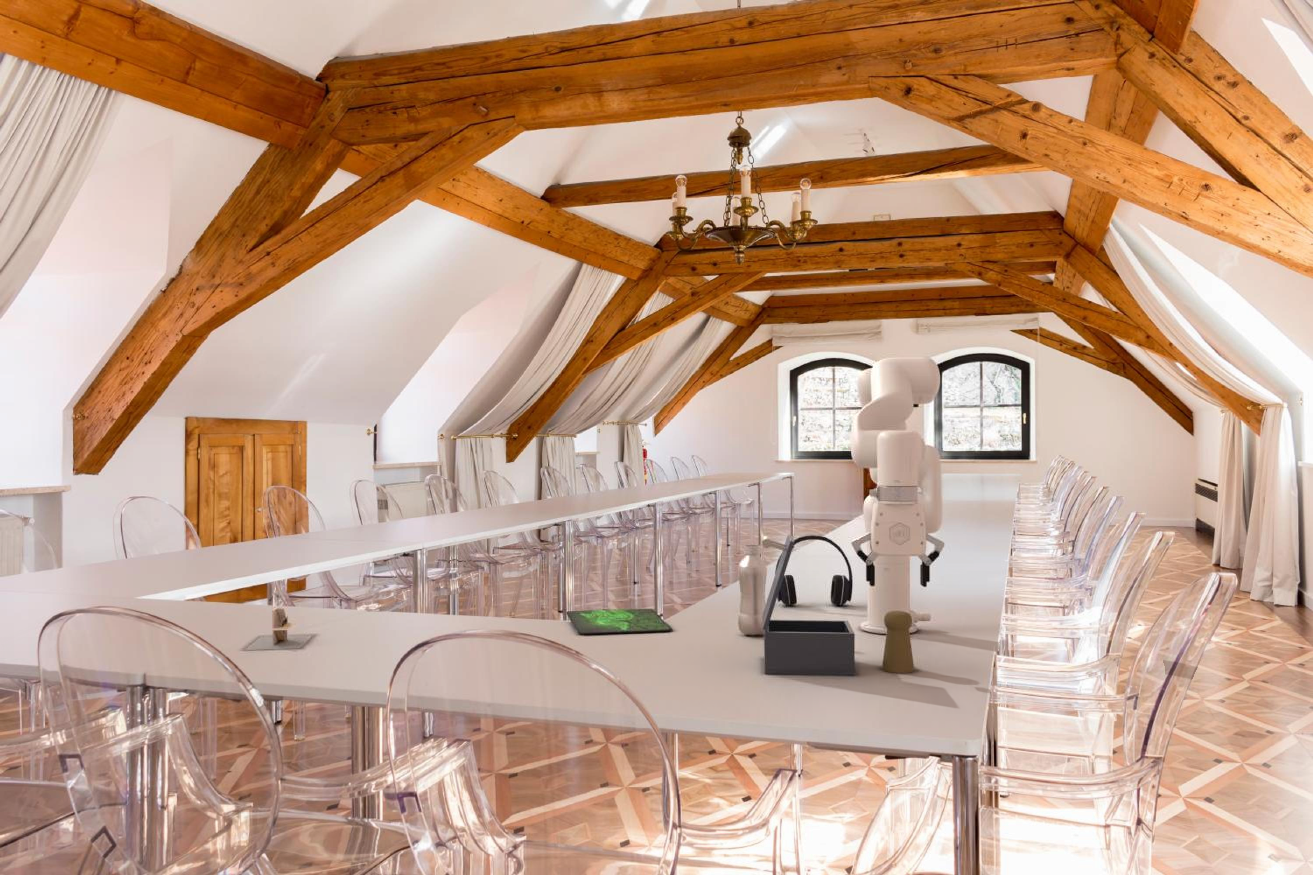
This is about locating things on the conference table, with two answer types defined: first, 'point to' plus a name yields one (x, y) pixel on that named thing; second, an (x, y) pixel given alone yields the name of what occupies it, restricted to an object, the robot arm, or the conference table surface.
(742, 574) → the plastic bottle
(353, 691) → the conference table surface
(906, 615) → the cork
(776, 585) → the box lid with handle
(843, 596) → the headphones
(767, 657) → the dark grey bin
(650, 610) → the mouse mat
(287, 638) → the architectural model
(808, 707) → the conference table surface
